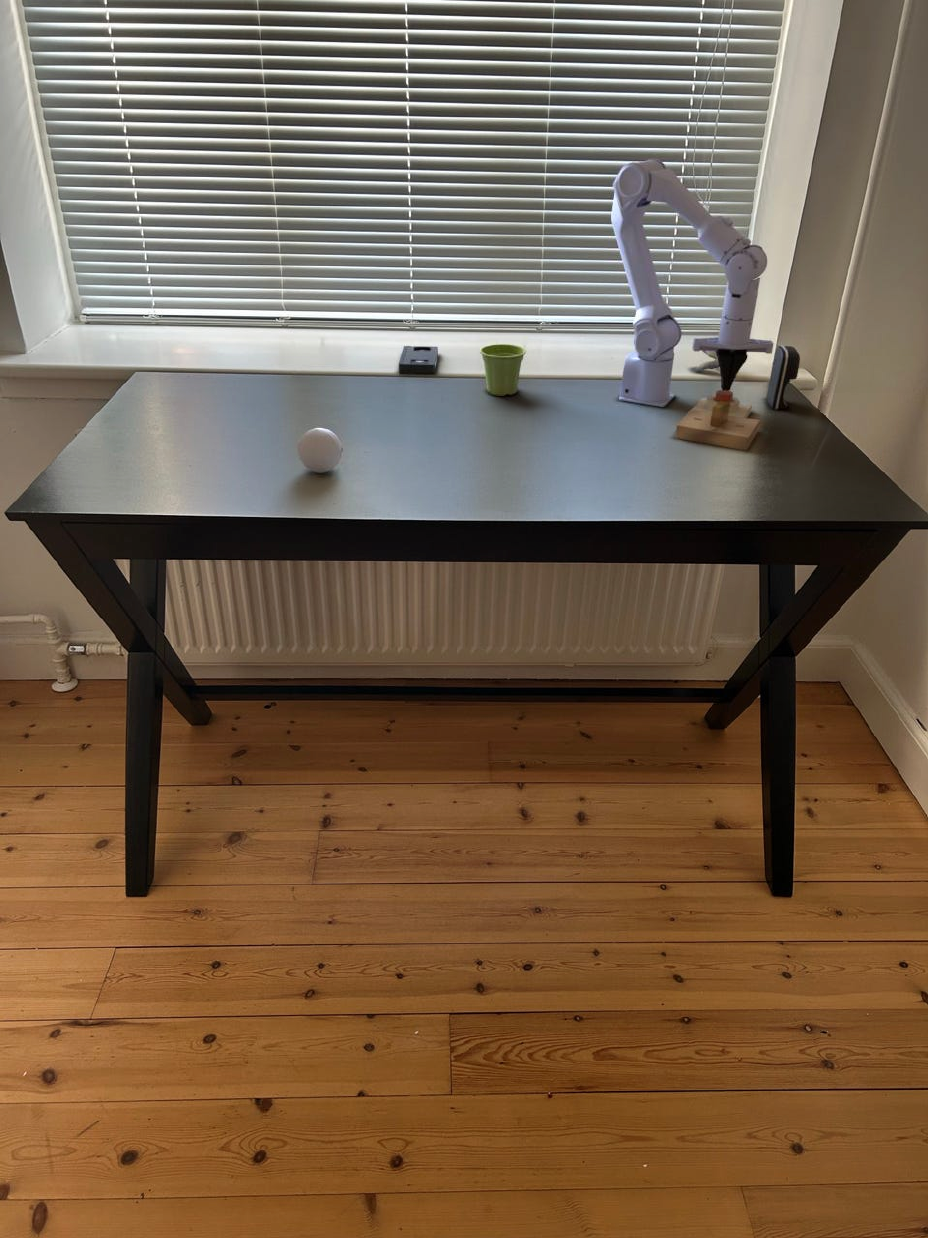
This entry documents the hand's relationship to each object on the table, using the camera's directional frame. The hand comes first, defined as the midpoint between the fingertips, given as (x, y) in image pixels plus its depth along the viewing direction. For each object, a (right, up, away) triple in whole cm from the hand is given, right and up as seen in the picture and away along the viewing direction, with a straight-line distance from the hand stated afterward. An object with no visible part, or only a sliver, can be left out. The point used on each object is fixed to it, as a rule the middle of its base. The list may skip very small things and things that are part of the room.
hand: (725, 388), depth 171 cm
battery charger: (+13, -1, +8) cm, 15 cm away
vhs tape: (-61, +13, +30) cm, 69 cm away
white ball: (-75, -19, -21) cm, 80 cm away
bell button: (0, -2, +1) cm, 3 cm away
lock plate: (-4, -11, -7) cm, 13 cm away
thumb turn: (-4, -8, -8) cm, 12 cm away
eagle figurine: (+5, +10, +26) cm, 29 cm away
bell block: (0, -4, +3) cm, 5 cm away
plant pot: (-43, +3, +14) cm, 45 cm away
